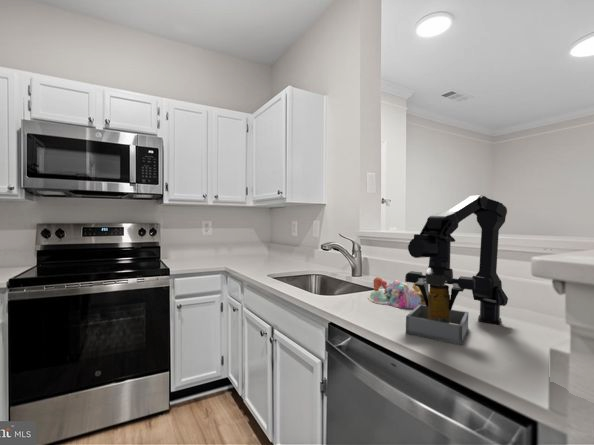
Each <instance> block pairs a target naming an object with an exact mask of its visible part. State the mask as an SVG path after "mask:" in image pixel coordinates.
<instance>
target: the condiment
mask: <svg viewBox="0 0 594 445" xmlns="http://www.w3.org/2000/svg"><path fill="white" fill-rule="evenodd" d="M449 289H450V286H449V284H444V285H443V286H439V285H436V284H429V294H428V320H434V321H439V322H445V323H450V310H449V304H450V298H451V294H450V291H449ZM450 324H454V323H450ZM456 325H458V324H456Z"/></svg>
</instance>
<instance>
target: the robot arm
mask: <svg viewBox="0 0 594 445" xmlns="http://www.w3.org/2000/svg"><path fill="white" fill-rule="evenodd" d="M472 214H474V215H475V216H476V222H477V223H478V225H479V227H480V229H481V230H480V231H481V233H480V234H481V235H480V251H479V253H480V254H479V265H478V266H479V268H478V272H477V273H476V274H475V275H472V276H459V278H456V277H454V271H453V268H451V247H452V246H451V245H452V244H451V243H453V242H454V243H455V242H456V239H455V238H454V237H453V236H452V234H454V232H455V231H457V229H458V228H459V223H460V222H462V221H463V220H465V219H467V218H468V217H470V216H471V215H472ZM507 214H508V208H507V207H506V206H505V205H504V204H503V203H502V202H500V201H498V200H494V199H491V198H488V197H487V196H485V195H480V194H479V195H470V196H468V197H466V199H465V200H463V201H461V202H460V203H458V204H457V205H455V206H454V207H451V208H450V209H449V210H447V211H445V212H439V213H434V214H432V215H430V216H429V217H427V220H426V222H425V224H424V226H423V227H422V228H421V230H420V233H419V234H418V233H417V234H416V233H415V234H413V238H412V239H411V240H410V241H409V243H408V245H407V248H408V249H407V250H408V252H409V253H408V254H410V256H411V257H412V258H414V259H421V258H423V259H424V258H428V259H429V260H428V267H427V268H426V271H425V274H423V272H422V271H412V270H410V271H408V272H406V274H405V279H404V281H405V282H404V283H412V284H414V283H415V286H418V287H419V289H420V290H421V292H422V295H423V298H424V301H425V304H426V307H428V294H429V292H430V291H429V285H430V284H436V285H439V286H443V285H444V284H445V285H452V287H451V289H450V292H451V293H450V304H449V310H450V311H451V309H452V308H453V306H454V304H455V301H456V299H457V296H458V295H459V293H460V292H464V291H465V290H469V291H471V293H472V297H473V300H474V301H478V302H479V315H478V318H477V322H478V321H479V322H484V323H485V322H486V323H490V324H496V325H501V324H502V318H501V314H500V313H501V312H500V311H501V306H502V307H505V306H507V304H508V301H509V298H508V296H507V294H506V292H504V290H503V283H502V282H503V281H501V279H500V276H499V275H498V274H497V267H498V266H497V265H498V248H499V233H500V232H499V231H500V229H501V228H502V226H503V225H504V224H505V223H506V217H507ZM428 291H429V292H428ZM452 310H453V309H452Z"/></svg>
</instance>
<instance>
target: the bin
mask: <svg viewBox="0 0 594 445" xmlns="http://www.w3.org/2000/svg"><path fill="white" fill-rule="evenodd" d="M450 323H454V324H450ZM450 323H445V322H439V321H434V320H428V307H426V305H420V304H419V305H418V306H417V307H416V308H414V309H412V310H411V311H410V312H409V313H408V314H407V315H406V316H405V334H408V335H412V336H417V337H421V338H427V339H430V340H435V341H440V342H445V343H450V344H453V345H459V346H462V345H463V344H464V340H465V337H466V335H467V333H468V329H469V312H468V311H463V310H457V309H451V311H450ZM456 324H458V325H456Z"/></svg>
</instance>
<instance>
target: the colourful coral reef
mask: <svg viewBox="0 0 594 445" xmlns="http://www.w3.org/2000/svg"><path fill="white" fill-rule="evenodd" d="M372 283H373V288H374V290H372V291H371V293H370V294H369V295H368V297H367V298H368V301H369V300H370V302H371V301H372V302H371V303H374V304H378V305H382V306H384V305H385V306H392V307H394V308H395V307H396V308H399V309H410V310H411V309H412V310H414V309H415V308H416V307H417V306H418V305H419V304H420V305H426V304H425V301H424V298H423V295H422V292H421V290H420V289H419V287H418V286H415V283H412V289H410V288H409V285H408V284H407V282H403V281H401V280H397V279H395V280H393V281H391V282H389V284H388V282H387V281H386V280H383V278H381V277H375V278H373V282H372ZM381 287H382V288H383V289H384V291H383V290H379V289H380V288H381ZM428 292H430V290H428Z"/></svg>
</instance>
